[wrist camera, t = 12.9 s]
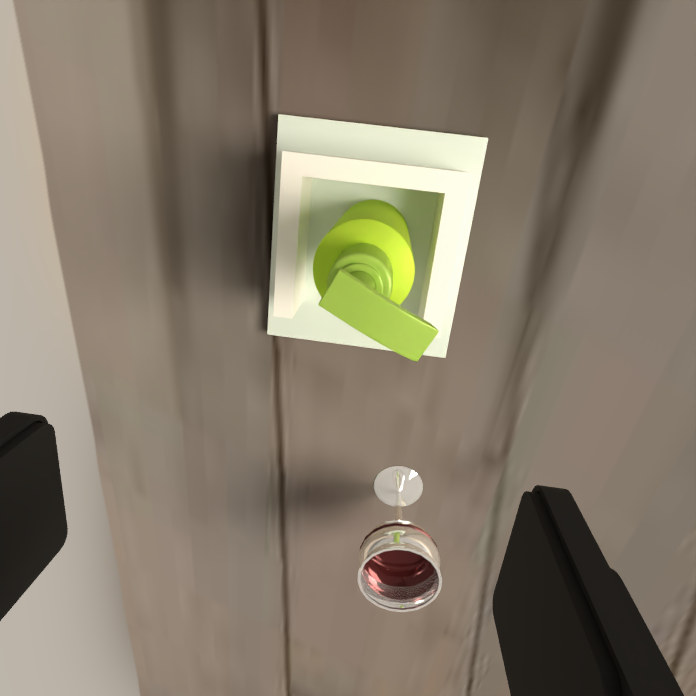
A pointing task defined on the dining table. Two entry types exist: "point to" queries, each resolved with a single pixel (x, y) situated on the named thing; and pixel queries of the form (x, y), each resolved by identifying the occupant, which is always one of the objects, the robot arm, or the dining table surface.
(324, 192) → the u rest
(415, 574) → the wineglass
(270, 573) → the dining table surface
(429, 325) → the soap dispenser
